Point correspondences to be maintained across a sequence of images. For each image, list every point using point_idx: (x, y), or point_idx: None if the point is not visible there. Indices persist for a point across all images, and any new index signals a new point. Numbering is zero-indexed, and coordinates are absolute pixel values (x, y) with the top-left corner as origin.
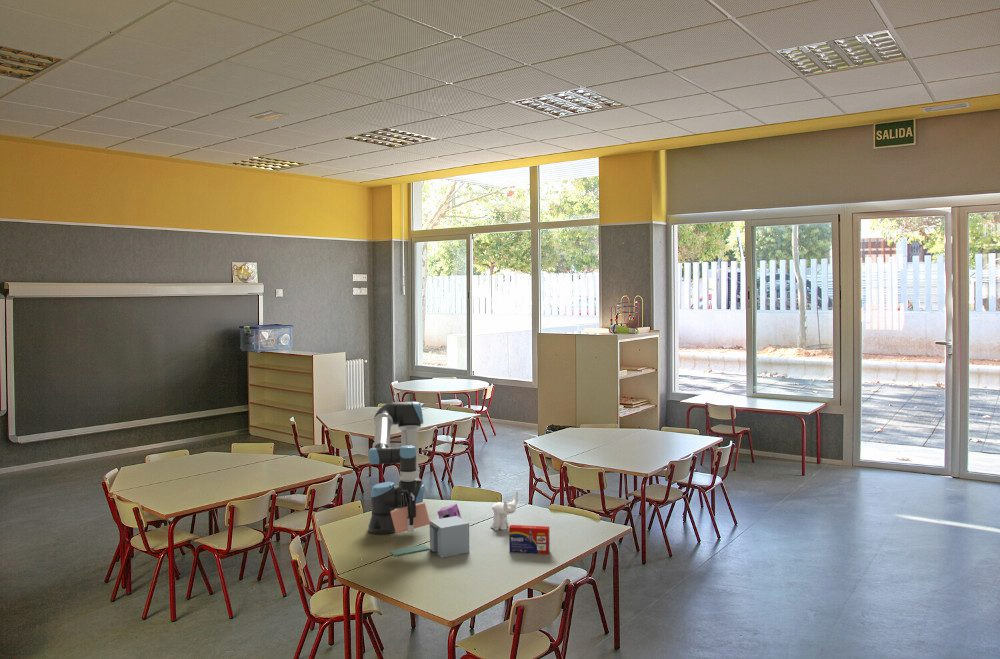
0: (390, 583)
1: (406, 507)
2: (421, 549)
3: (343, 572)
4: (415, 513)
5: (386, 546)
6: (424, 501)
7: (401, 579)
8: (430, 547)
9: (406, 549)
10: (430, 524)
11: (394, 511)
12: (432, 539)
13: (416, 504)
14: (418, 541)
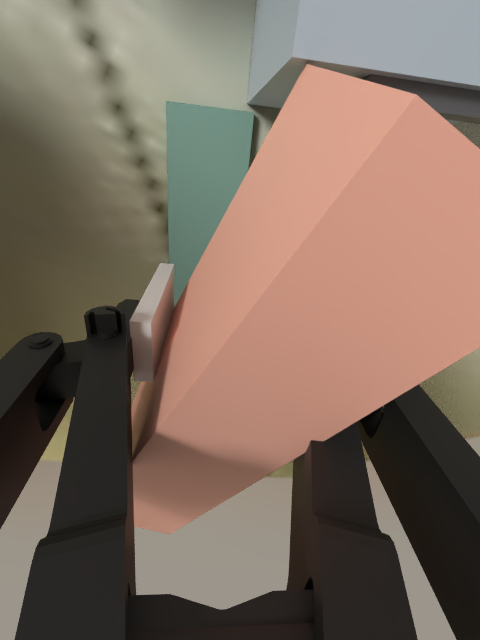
0: (441, 411)
1: (210, 467)
2: (241, 172)
3: (266, 476)
4: (416, 387)
5: (75, 300)
6: (431, 117)
7: (448, 379)
8: (255, 103)
9: (191, 246)
10: None
11: (174, 521)
12: None
13: (305, 375)
14: (53, 88)
